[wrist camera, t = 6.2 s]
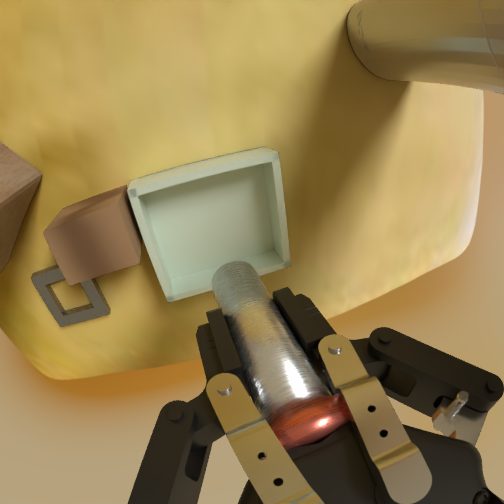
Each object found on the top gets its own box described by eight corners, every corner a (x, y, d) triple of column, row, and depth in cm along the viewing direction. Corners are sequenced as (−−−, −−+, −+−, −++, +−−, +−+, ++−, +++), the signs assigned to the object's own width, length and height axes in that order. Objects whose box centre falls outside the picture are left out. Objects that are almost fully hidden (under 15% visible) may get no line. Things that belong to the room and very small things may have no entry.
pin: (260, 246, 15) (371, 404, 7) (267, 295, 17) (354, 441, 8) (197, 264, 14) (259, 452, 6) (211, 313, 16) (270, 476, 8)
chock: (126, 184, 21) (117, 204, 16) (143, 233, 23) (139, 263, 19) (63, 208, 20) (42, 232, 15) (82, 253, 22) (69, 286, 18)
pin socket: (83, 255, 22) (81, 260, 21) (110, 308, 25) (109, 313, 24) (33, 273, 21) (30, 277, 20) (62, 321, 24) (60, 327, 23)
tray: (265, 146, 22) (278, 152, 20) (278, 250, 27) (291, 266, 25) (131, 180, 20) (127, 190, 18) (166, 283, 26) (168, 302, 23)
